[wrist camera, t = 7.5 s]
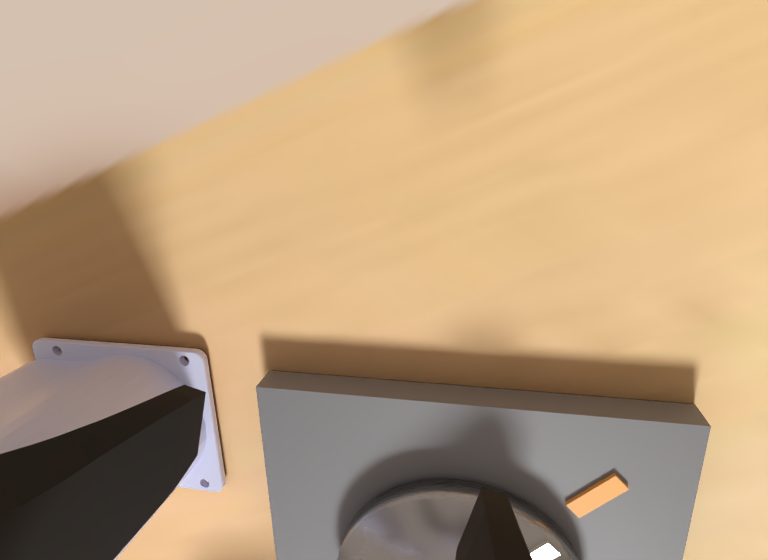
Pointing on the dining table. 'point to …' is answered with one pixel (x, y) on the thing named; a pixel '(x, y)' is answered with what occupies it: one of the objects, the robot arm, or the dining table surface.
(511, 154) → the dining table surface
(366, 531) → the dial
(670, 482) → the dial base
